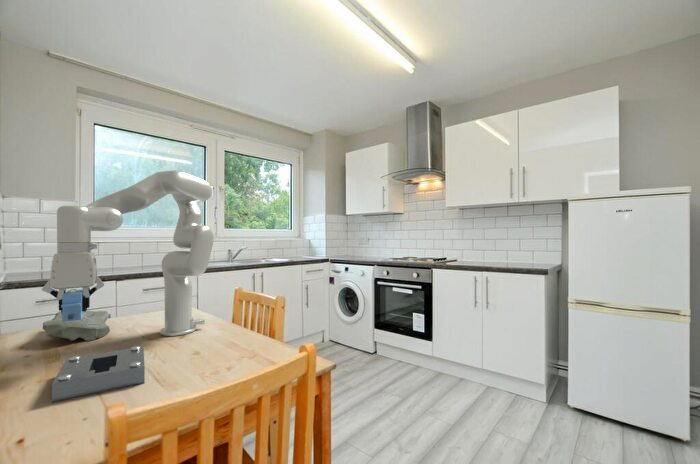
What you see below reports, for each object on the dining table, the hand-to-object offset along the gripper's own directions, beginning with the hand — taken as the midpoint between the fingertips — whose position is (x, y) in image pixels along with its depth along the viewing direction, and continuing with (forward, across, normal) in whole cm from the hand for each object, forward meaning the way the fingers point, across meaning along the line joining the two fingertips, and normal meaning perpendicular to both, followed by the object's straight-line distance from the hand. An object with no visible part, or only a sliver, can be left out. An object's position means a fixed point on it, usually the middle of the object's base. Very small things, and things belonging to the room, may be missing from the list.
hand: (74, 311), depth 95 cm
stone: (+17, +5, -38) cm, 42 cm away
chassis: (+16, -8, +14) cm, 23 cm away
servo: (+2, 0, 0) cm, 2 cm away
